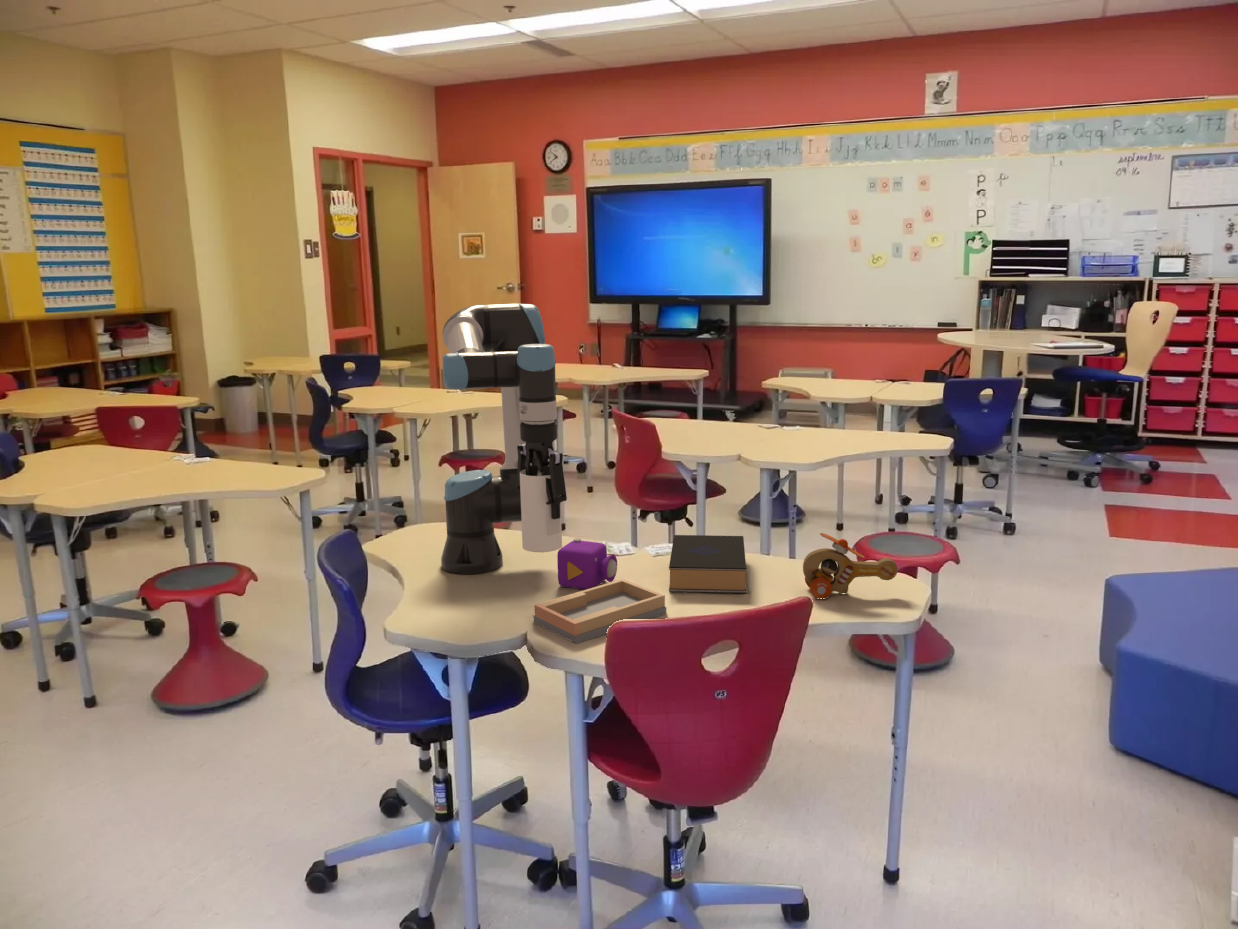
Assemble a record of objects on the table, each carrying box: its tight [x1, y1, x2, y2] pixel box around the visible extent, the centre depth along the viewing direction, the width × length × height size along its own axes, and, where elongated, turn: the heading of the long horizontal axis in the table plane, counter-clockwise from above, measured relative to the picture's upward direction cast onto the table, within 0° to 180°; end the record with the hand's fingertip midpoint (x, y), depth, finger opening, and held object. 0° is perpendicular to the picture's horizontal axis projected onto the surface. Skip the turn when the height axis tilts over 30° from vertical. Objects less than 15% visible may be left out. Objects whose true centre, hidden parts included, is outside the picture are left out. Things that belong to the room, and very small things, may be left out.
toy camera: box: [556, 538, 618, 591], centre depth 217 cm, size 11×14×10 cm
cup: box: [520, 470, 563, 553], centre depth 194 cm, size 8×8×16 cm
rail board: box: [532, 578, 667, 644], centre depth 198 cm, size 15×24×4 cm, turn 130°
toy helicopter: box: [802, 532, 899, 600], centre depth 209 cm, size 8×21×14 cm, turn 88°
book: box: [668, 534, 747, 594], centre depth 223 cm, size 17×25×7 cm
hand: (542, 528), depth 195 cm, fingers closed on cup, 8 cm apart
